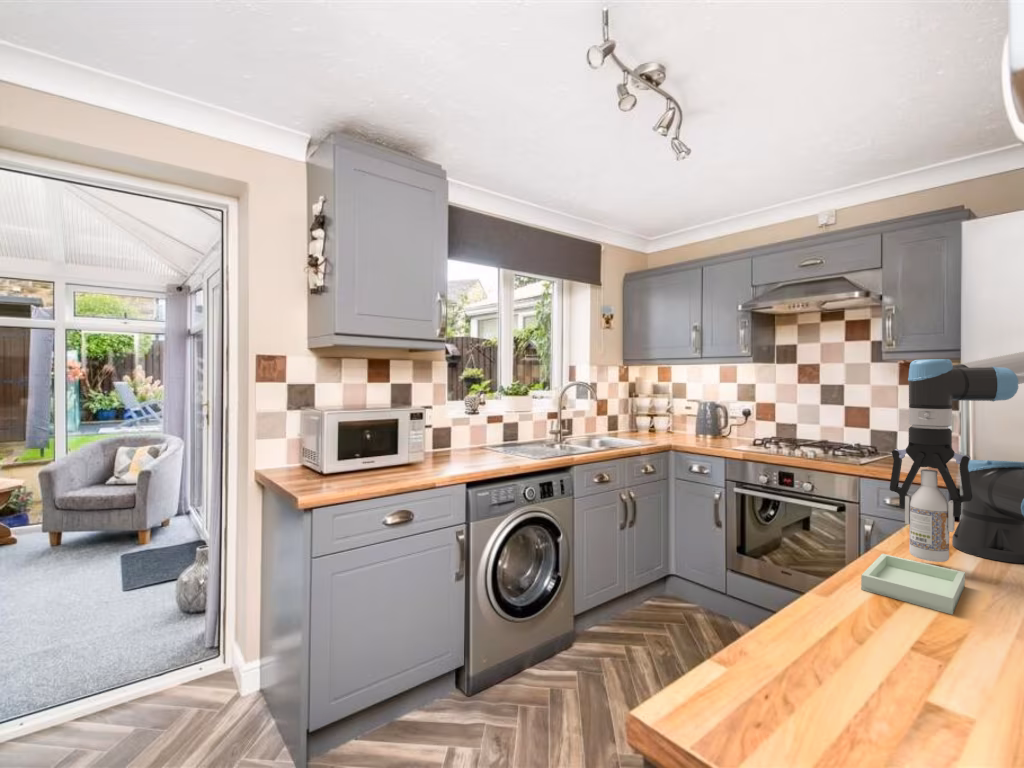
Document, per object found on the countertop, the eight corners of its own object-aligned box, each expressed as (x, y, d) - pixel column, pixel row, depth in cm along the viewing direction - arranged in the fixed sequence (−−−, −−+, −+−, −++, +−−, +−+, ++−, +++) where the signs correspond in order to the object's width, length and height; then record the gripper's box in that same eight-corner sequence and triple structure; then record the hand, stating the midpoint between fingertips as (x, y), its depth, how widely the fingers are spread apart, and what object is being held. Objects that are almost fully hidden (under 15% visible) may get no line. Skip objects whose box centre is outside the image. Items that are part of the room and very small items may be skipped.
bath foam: (947, 565, 107) (947, 474, 107) (907, 557, 112) (907, 470, 112) (950, 557, 112) (951, 470, 112) (911, 549, 117) (912, 466, 117)
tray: (881, 566, 112) (882, 553, 112) (964, 586, 102) (964, 572, 102) (861, 589, 100) (861, 574, 100) (952, 614, 90) (953, 598, 90)
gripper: (872, 425, 116) (872, 520, 117) (988, 431, 102) (987, 541, 102) (880, 422, 121) (879, 514, 122) (991, 428, 107) (991, 533, 107)
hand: (929, 526), depth 112 cm, fingers closed on bath foam, 7 cm apart
